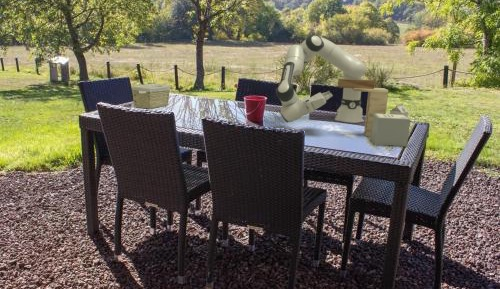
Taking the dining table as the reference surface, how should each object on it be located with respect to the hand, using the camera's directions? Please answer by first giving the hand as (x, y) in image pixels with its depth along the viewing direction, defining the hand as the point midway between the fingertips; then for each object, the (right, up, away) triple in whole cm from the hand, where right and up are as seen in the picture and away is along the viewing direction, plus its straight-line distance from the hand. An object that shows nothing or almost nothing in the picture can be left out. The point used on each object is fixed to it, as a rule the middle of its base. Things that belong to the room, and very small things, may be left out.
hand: (331, 93), depth 256 cm
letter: (+29, -14, -16) cm, 35 cm away
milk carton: (+36, -25, 0) cm, 43 cm away
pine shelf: (+21, -23, +4) cm, 31 cm away
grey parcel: (+28, -27, -12) cm, 41 cm away
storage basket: (-113, -2, +68) cm, 132 cm away
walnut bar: (+13, +3, -1) cm, 14 cm away
